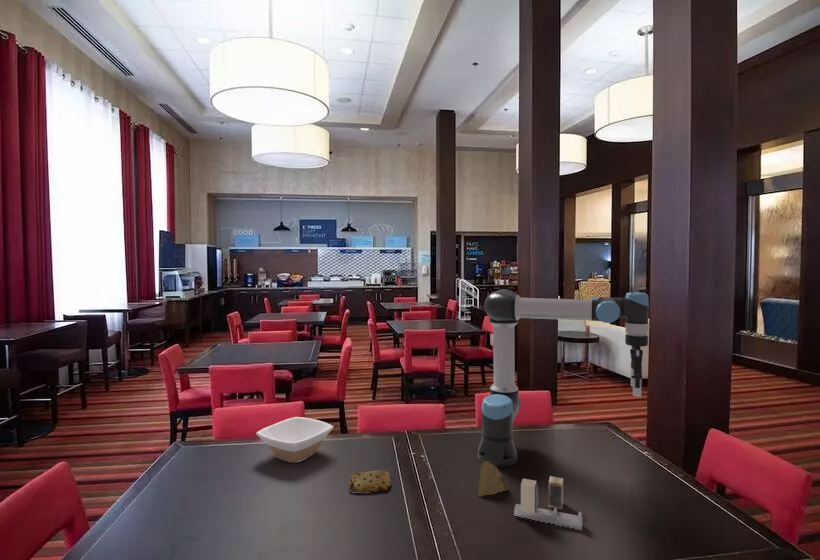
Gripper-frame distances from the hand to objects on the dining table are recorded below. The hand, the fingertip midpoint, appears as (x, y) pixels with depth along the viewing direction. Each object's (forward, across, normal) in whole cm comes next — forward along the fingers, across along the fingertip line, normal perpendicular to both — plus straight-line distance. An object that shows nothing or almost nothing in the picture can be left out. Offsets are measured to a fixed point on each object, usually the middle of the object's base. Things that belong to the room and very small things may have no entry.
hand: (635, 391), depth 170 cm
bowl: (+28, -40, +124) cm, 133 cm away
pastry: (+29, -50, +85) cm, 103 cm away
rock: (+28, -39, +44) cm, 66 cm away
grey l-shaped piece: (+28, -50, +26) cm, 63 cm away
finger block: (+28, -40, +24) cm, 55 cm away
